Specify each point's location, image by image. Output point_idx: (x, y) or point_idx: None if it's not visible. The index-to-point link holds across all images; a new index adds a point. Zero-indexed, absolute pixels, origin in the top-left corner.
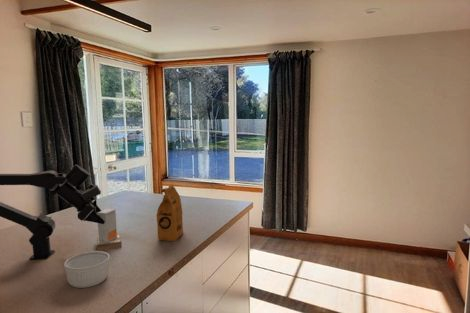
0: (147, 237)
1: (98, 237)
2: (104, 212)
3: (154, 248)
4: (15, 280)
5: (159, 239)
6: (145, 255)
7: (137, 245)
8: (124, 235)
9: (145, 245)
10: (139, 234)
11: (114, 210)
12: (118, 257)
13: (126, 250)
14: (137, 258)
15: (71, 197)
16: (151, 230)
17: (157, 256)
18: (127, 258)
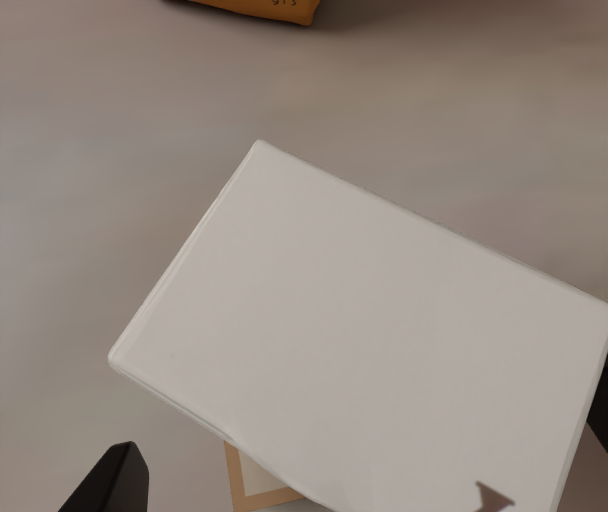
0: (223, 105)
1: (240, 498)
2: (544, 355)
3: (440, 48)
4: None
5: (310, 21)
6: (549, 88)
7: (368, 153)
8: (115, 280)
9: (378, 103)
10: (135, 165)
11: (292, 160)
12: (574, 249)
13: (451, 214)
14: (594, 127)
15: None
16: (76, 91)
17: (567, 25)
18: (593, 187)
